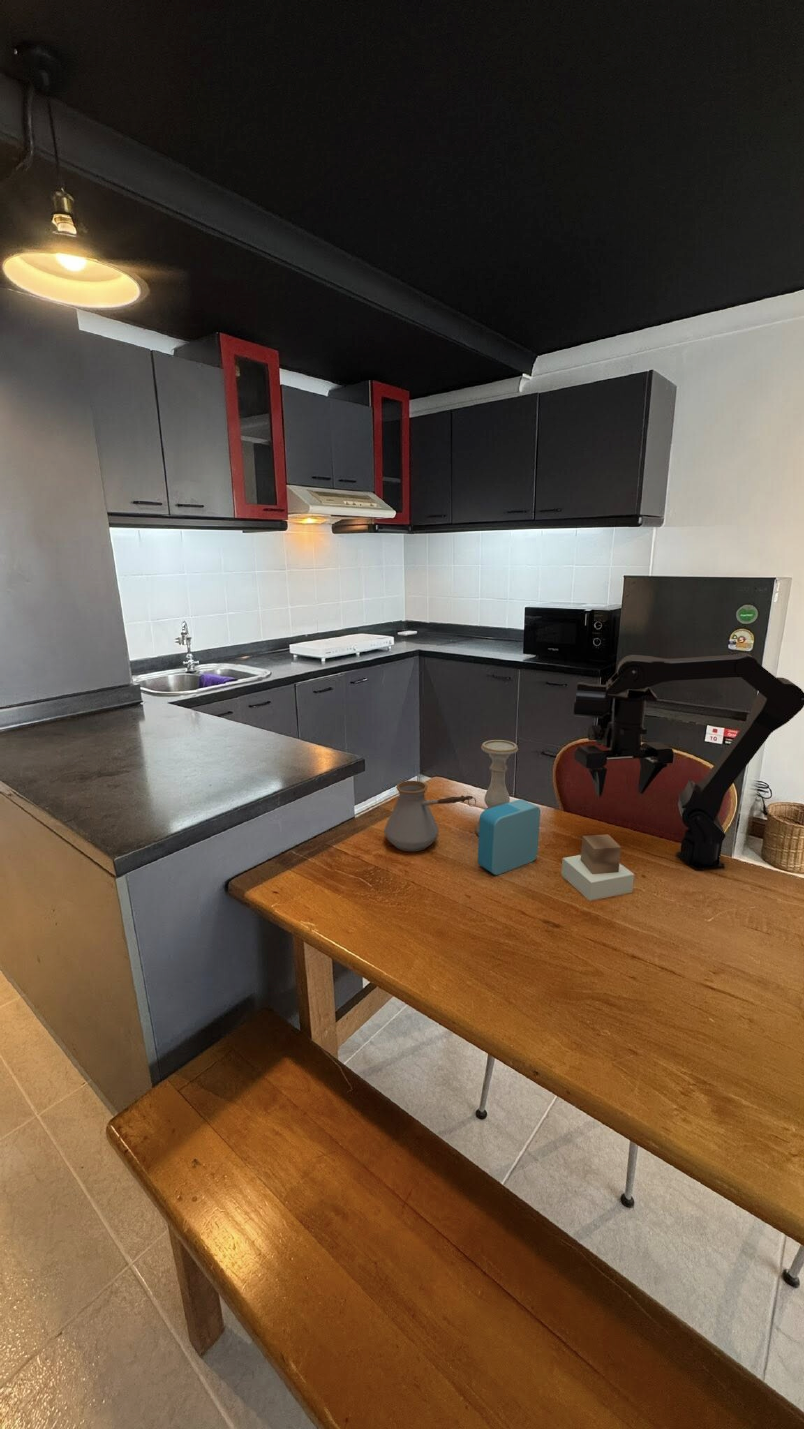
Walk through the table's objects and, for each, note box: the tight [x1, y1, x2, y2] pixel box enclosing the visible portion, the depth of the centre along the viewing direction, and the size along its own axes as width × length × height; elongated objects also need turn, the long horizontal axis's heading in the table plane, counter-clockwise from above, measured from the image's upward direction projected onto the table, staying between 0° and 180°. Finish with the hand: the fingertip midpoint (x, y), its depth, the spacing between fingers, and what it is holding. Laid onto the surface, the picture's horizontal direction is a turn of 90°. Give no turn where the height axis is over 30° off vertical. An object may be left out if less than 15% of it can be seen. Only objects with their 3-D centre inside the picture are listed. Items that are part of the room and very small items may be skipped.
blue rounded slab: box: [477, 798, 541, 876], centre depth 114 cm, size 12×4×12 cm, turn 123°
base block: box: [561, 854, 635, 902], centre depth 108 cm, size 9×9×4 cm
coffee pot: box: [383, 780, 477, 852], centre depth 119 cm, size 21×12×15 cm, turn 47°
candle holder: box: [474, 739, 519, 837], centre depth 125 cm, size 9×9×20 cm
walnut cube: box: [580, 834, 622, 874], centre depth 107 cm, size 5×5×5 cm
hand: (619, 794), depth 118 cm, fingers open, 9 cm apart
